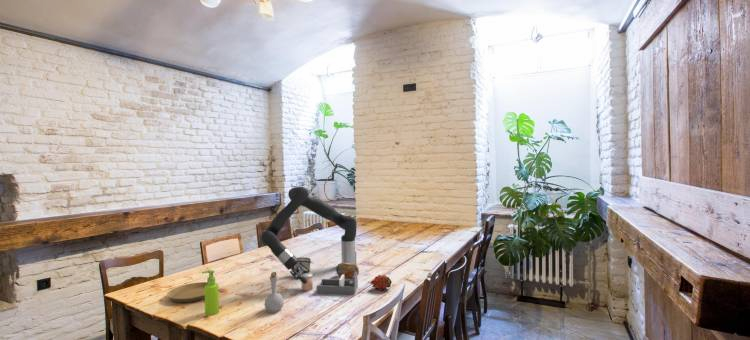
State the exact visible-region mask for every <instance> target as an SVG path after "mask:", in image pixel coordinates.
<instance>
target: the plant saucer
mask: <svg viewBox="0 0 750 340" xmlns="http://www.w3.org/2000/svg"><path fill="white" fill-rule="evenodd" d="M205 285H207V281H205V282H204V281H200V282H193V283H187V284H184V285H180V286H177V287H175V288H173V289H170V290H169V291H167V294H166V295H167V298H168V299H169V300H171V302H172V301H173V302H175V303H183V304H184V303H194V302H198V301H201V300H205V287H204V286H205Z"/></svg>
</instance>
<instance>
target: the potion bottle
mask: <svg viewBox="0 0 750 340" xmlns="http://www.w3.org/2000/svg"><path fill="white" fill-rule="evenodd" d="M269 281H270V283H271V287H270V288H271V293H270V294H268V295H267V296H266V298H265V301H264V304H263V305H264V308H265V310H266V312H267V313H269V314H275V313H279V312H281V311H282V308H284V304H285V303H284V299H283V295H282V294H281V293H279V292H278V293H277V281H278V275H277V271H273V272H271V273H270V276H269Z"/></svg>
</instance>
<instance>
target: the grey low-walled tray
mask: <svg viewBox="0 0 750 340" xmlns="http://www.w3.org/2000/svg"><path fill="white" fill-rule="evenodd" d="M339 279H340V278H339ZM339 279H337V278H336V279H333V278H321V279H320V280H321V281H320V283H319V284H318V285H316V294H322V295H323V294H325V295H326V294H327V295H328V294H329V295H353V296H354V295H355V294H356V292H357V290H358V287H359V283H358V282H359V280H358V276H357V272H355V274H354V276H353V279H344V283H345V285H344V286H339Z"/></svg>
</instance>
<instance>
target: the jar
mask: <svg viewBox="0 0 750 340" xmlns="http://www.w3.org/2000/svg"><path fill="white" fill-rule="evenodd" d="M313 275H314V274H313V273H311V272H310V273H305V274H302V277H304V278H305V279H306V280H307V282H306V283H305V284H304V283H303V282H302V281H301V291H302V292H311V291H313V287H314V285H313V284H314V283H313V277H314V276H313Z"/></svg>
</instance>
